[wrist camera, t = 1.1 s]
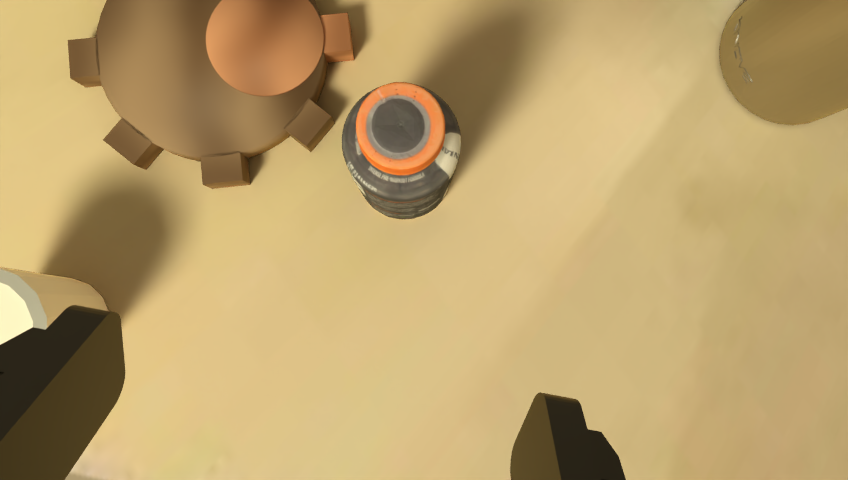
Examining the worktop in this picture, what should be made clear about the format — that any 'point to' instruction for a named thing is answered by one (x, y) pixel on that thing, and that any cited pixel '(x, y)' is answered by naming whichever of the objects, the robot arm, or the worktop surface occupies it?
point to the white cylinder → (39, 300)
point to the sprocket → (212, 78)
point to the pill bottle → (402, 149)
